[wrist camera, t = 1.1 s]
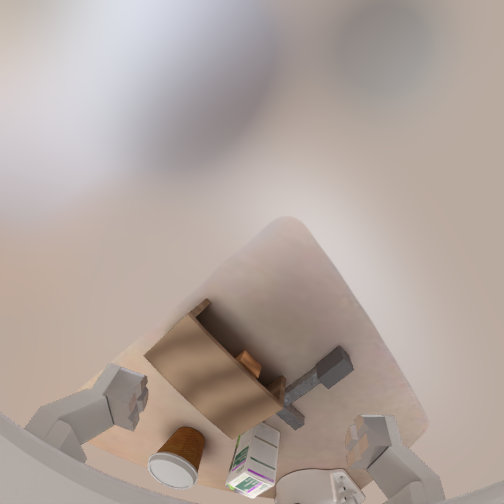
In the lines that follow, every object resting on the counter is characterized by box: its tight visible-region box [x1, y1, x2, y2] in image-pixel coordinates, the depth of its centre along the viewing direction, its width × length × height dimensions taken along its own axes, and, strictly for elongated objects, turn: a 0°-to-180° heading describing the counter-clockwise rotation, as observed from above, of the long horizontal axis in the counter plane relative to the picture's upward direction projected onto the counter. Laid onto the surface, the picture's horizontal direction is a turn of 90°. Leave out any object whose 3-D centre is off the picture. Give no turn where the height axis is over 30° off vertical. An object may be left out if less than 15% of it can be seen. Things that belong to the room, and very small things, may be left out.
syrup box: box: [225, 422, 280, 499], centre depth 41 cm, size 6×6×14 cm
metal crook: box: [276, 346, 354, 430], centre depth 44 cm, size 7×16×5 cm, turn 134°
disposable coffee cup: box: [148, 427, 205, 490], centre depth 45 cm, size 10×10×12 cm
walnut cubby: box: [144, 299, 286, 439], centre depth 44 cm, size 19×10×9 cm, turn 44°
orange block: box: [235, 351, 262, 379], centre depth 46 cm, size 4×4×4 cm
